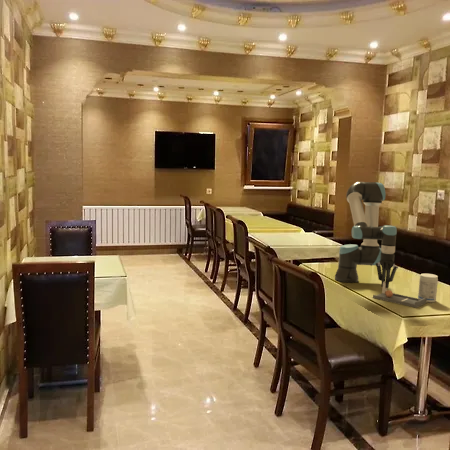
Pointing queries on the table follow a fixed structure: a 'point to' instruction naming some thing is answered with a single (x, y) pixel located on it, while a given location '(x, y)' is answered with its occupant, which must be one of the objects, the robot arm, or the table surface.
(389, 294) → the ball
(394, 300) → the grey tray
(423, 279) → the supplement tub
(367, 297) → the table surface
